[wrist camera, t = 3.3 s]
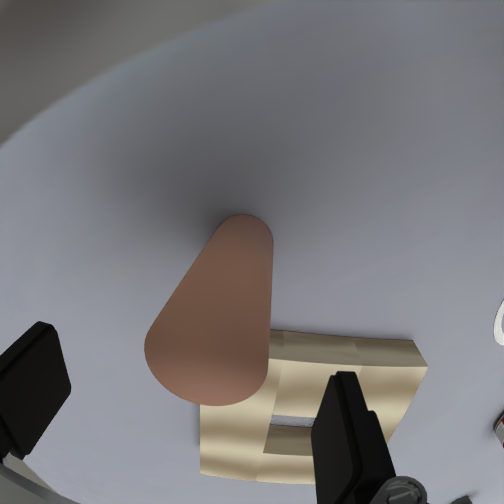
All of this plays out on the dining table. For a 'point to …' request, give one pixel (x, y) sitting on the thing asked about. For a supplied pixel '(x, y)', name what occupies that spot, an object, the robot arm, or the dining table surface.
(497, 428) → the soda can
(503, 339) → the teacup and saucer
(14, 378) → the robot arm
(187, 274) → the peg
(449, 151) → the dining table surface
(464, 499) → the beverage cup
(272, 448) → the socket block
